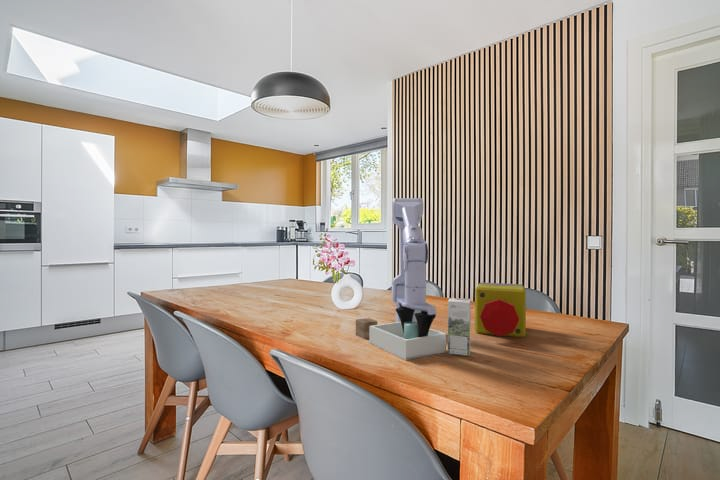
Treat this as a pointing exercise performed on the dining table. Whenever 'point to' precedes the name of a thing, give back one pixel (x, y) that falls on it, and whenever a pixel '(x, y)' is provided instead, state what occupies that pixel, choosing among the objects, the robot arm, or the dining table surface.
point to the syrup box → (459, 326)
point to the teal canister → (411, 330)
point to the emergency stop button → (500, 309)
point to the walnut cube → (364, 327)
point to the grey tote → (406, 341)
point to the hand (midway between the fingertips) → (415, 336)
